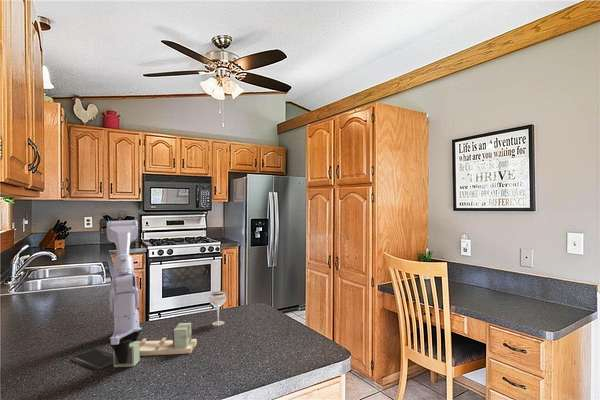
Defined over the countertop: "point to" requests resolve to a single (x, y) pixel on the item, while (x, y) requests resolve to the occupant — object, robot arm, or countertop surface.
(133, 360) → the block
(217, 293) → the wineglass
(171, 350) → the block holder
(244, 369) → the countertop surface
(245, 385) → the countertop surface
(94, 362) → the phone
